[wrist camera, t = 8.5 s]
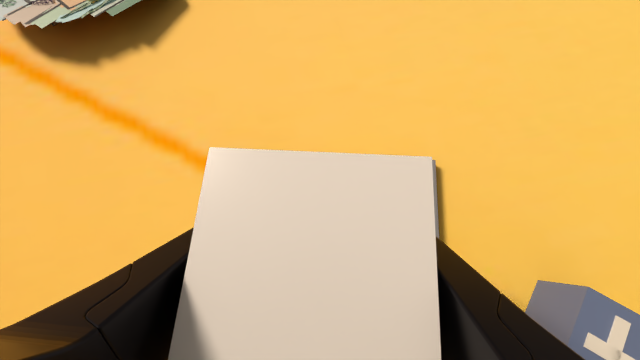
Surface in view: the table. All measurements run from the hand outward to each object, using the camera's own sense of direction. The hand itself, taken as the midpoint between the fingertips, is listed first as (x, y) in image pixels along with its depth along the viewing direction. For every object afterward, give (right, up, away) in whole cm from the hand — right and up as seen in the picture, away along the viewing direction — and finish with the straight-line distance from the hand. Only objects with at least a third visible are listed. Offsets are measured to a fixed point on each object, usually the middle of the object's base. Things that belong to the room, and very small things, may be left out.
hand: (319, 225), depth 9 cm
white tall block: (0, -3, +6) cm, 7 cm away
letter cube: (+16, -8, +9) cm, 20 cm away
